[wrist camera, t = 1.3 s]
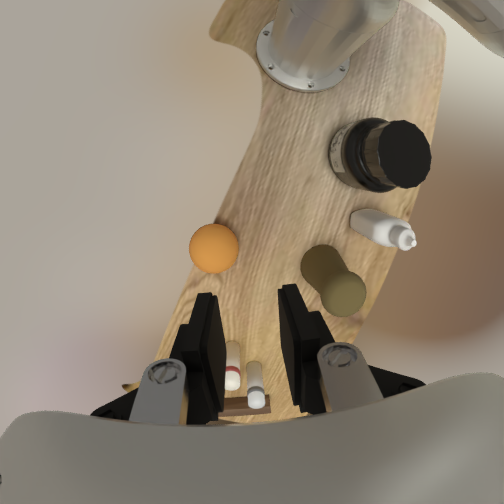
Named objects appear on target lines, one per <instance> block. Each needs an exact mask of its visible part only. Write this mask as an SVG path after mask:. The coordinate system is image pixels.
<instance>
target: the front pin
mask: <svg viewBox="0 0 504 504" xmlns="http://www.w3.org/2000/svg"><path fill="white" fill-rule="evenodd" d="M226 350H227V359H226V376H225V389H226V390H236V389H238V388H239V387H240V346H239V344H238V343H237V342H234V341H229V342H227V343H226Z"/></svg>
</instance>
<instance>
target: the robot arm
mask: <svg viewBox="0 0 504 504" xmlns="http://www.w3.org/2000/svg"><path fill="white" fill-rule="evenodd" d="M429 1H430V2H432V3H433V4H435V5H436V6H437V7H439V8H440V9H441V10H442V11H444V12H445V13H446V14H448V15H449V16H450V17H451V18H452V19H454V20H455V21H456V22H457V23H458V24H459V25H461V26H462V27H463V28H464V29H466V31H468V32H469V33H470V34H471V35H472V36H473V37H474V38H475V39H477V40H478V41H479V42H480V43H481V44H482V45H484V46H485V47H486V48H487V49H489V50H490V51H492V52H493V53H495V54H497V55H499V56H501V57H503V58H504V0H429ZM398 5H399V0H279V4H278V8H277V12H276V16H275V19H274V20H272V21H271V22H269V23H268V24H266V26H265V27H264V28H263V29H262V30H261V32H260V34H259V36H258V39H257V43H256V53H257V58H258V60H259V63H260V65H261V67H262V68H263V70H264V71H265V72H266V73H267V74H268V75H269V77H271V78H272V79H273V80H274V81H276V82H277V83H279V84H281V85H282V86H284V87H286V88H289V89H292V90H295V91H300V92H308V93H314V92H321V91H325V90H328V89H330V88H332V87H334V86H335V85H337V84H338V83H339V82H340V81H341V80H342V79H343V78H344V77H345V75H346V74H347V72H348V69H349V65H350V56H351V55H352V54H353V53H354V52H355V51H356V50H357V49H358V48H359V47H360V46H362V45H363V44H364V43H365V42H366V41H367V40H368V39H369V38H371V37H372V36H373V35H374V34H375V33H376V32H377V31H379V30H380V29H381V28H382V27H383V26H385V25H386V24H387V23H388V22H389V21H390V20H391V19H392V18H393V17H394V15H395V13H396V11H397V9H398ZM266 35H267V36H266ZM269 68H272V70H269ZM340 70H341V71H340ZM308 86H311V88H309V87H308ZM278 304H279V321H280V338H281V349H282V353H283V358H284V363H285V367H286V372H287V377H288V381H289V386H290V391H291V395H292V400H293V405H294V406H296V405H299V407H300V412H301V413H304V412H308V413H310V414H312V415H310V416H303V417H297V418H290V419H283V420H275V421H265V422H254V423H241V424H221V425H220V424H219V425H206V423H208V422H209V421H218V414H219V413H220V412H223V411H224V394H225V376H226V359H227V350H226V344H225V338H224V333H223V327H222V322H221V316H220V310H219V304H218V298H217V295H214V296H212V293H211V292H209V293H198V295H197V298H196V301H195V304H194V308H193V311H192V314H191V317H190V321H189V324H181V325H180V327H179V330H178V333H177V336H176V339H175V342H174V345H173V348H172V351H171V354H170V357H169V358H167V359H161V360H158V361H155V362H154V363H152V364H150V365H149V366H148V367H147V368H146V370H145V371H144V373H143V376H142V379H141V382H140V386H139V388H137V389H135V390H133V391H131V392H129V393H127V394H125V395H123V396H121V397H119V398H117V399H115V400H114V401H112V402H110V403H108V404H106V405H104V406H102V407H99V408H98V409H96V410H95V411H93V413H92V414H91V415H90V416H89V415H83V414H77V413H71V412H70V413H69V412H62V411H38V412H30V413H27V414H23V415H21V416H19V417H17V418H16V419H15V420H14V421H13V422H12V423H11V424H10V426H9V427H8V428H7V429H6V431H5V432H4V433H3V435H2V436H1V438H0V504H504V378H502V377H501V376H499V375H496V374H493V373H468V374H463V375H458V376H453V377H450V378H446V379H443V380H439V381H436V382H433V383H431V384H428V385H426V384H425V383H423V382H422V381H420V380H418V379H415V378H411V377H407V376H404V375H400V374H397V373H393V372H390V371H387V370H383V369H380V368H376V367H373V366H370V365H367V363H366V360H365V359H364V357H363V355H362V352H361V351H360V350H359V349H358V348H357V347H356V346H354V345H352V344H349V343H344V342H335V341H334V339H333V337H332V335H331V333H330V331H329V329H328V327H327V325H326V323H325V321H324V319H323V317H322V315H321V313H320V312H319V311H312V312H308V310H307V307H306V305H305V303H304V301H303V298H302V296H301V294H300V292H299V290H298V287H297V285H296V284H287V285H282V289H278Z"/></svg>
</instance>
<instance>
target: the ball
mask: <svg viewBox="0 0 504 504" xmlns="http://www.w3.org/2000/svg"><path fill="white" fill-rule="evenodd" d="M238 250H239V246H238V241H237V239H236V236H235V235H234V233H233V232H232V231H231V230H230V229H228V228H227V227H225V226H223V225H220V224H208V225H205V226H203V227H201V228H199V229H198V230H197V231H196V232H195V233H194V235H193V236H192V238H191V241H190V244H189V253H190V257H191V259H192V261H193V263H194V264H195V265H196V266H197V267H198V268H199V269H201V270H202V271H204V272H207V273H220V272H223V271H226V270H227V269H229V268H230V267H231V266H232V265H233V264H234V262H235V261H236V259H237V256H238Z"/></svg>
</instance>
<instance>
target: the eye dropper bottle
mask: <svg viewBox="0 0 504 504" xmlns="http://www.w3.org/2000/svg"><path fill="white" fill-rule="evenodd" d="M350 226H351V228H352V229H353V230H355V231H357V232H358V233H360V234H362V235H363V236H365V237H367V238H368V239H370V240H372V241H373V242H375V243H377V244H380V245H383V246H387V247H398V248H400V249H402V250H405V251H406V250H409V249H410V248H411V247H414V246H416V243H417V242H416V241H415V234H414V232H413V231H412V230H411V226H410V224H408V223H407V222H406V221H404V220H402V219H399V218H397V217H394V216H391V215H389V214H386V213H383V212H381V211H378V210H375V209H360V210H357V211H355V212H353V213H352V214H351V220H350Z"/></svg>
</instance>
